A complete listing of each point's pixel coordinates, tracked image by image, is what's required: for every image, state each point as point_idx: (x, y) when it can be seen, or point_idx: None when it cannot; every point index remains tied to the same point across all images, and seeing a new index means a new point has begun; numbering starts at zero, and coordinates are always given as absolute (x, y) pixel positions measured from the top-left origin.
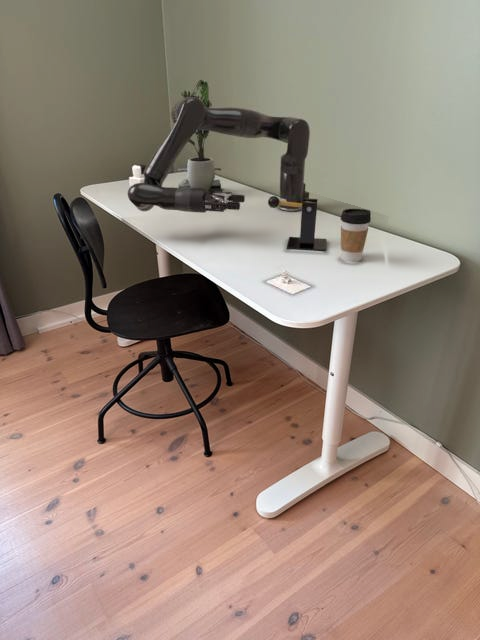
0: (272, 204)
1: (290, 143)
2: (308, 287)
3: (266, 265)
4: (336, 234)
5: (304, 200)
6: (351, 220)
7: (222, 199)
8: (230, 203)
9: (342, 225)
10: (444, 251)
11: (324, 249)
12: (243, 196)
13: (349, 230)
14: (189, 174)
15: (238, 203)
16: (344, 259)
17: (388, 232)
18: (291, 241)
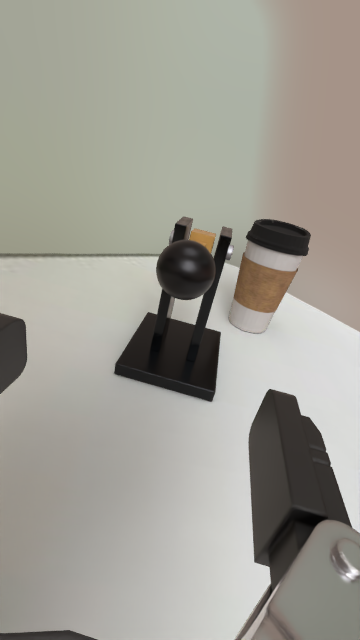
0: (211, 283)
1: None
2: None
3: (352, 485)
4: (95, 294)
5: (186, 229)
6: (307, 247)
7: (278, 619)
8: (310, 484)
9: (283, 264)
10: None
11: (220, 333)
12: (21, 325)
13: (295, 269)
14: None
15: (292, 402)
16: (264, 327)
17: (108, 255)
18: (161, 369)
